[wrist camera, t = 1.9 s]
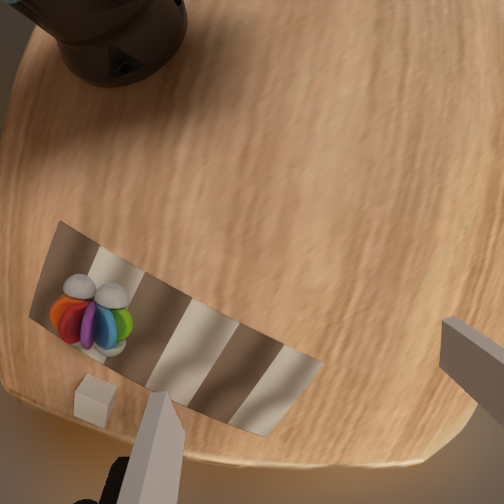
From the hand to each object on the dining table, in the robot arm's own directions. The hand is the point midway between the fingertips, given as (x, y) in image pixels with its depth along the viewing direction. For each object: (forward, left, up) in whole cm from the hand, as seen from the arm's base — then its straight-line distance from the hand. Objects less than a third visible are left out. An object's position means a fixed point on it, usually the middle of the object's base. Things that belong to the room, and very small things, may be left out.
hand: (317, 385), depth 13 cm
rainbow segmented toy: (-14, -14, -23) cm, 30 cm away
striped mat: (-5, -14, -23) cm, 27 cm away
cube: (-10, -26, -23) cm, 36 cm away
